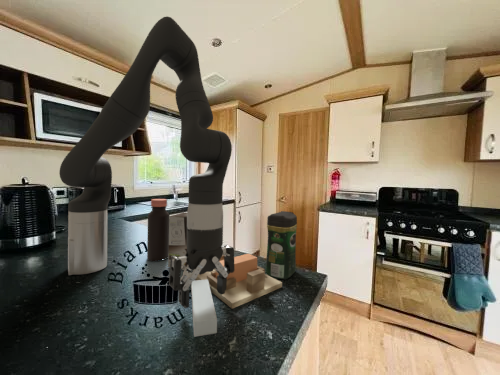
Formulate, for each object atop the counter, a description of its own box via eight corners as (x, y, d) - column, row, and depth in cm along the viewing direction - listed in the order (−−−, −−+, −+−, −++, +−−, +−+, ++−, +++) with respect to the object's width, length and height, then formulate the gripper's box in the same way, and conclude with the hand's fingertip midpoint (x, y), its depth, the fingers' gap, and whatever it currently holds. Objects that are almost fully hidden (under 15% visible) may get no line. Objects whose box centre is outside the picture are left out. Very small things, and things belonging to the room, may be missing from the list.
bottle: (169, 253, 80) (170, 198, 79) (168, 260, 73) (169, 200, 72) (148, 255, 77) (149, 198, 77) (145, 262, 71) (146, 200, 70)
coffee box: (186, 271, 66) (188, 217, 65) (167, 268, 67) (168, 215, 66) (199, 260, 75) (201, 212, 74) (182, 258, 76) (183, 211, 75)
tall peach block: (223, 286, 54) (224, 266, 54) (215, 280, 57) (215, 261, 57) (256, 275, 62) (257, 257, 61) (247, 270, 65) (248, 253, 64)
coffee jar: (274, 265, 72) (277, 208, 72) (298, 271, 68) (300, 211, 68) (260, 275, 64) (263, 212, 63) (286, 283, 60) (289, 215, 59)
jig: (232, 308, 47) (232, 284, 47) (194, 278, 61) (194, 259, 61) (281, 287, 58) (282, 266, 58) (239, 265, 72) (240, 248, 71)
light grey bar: (193, 338, 39) (194, 322, 39) (191, 292, 54) (191, 280, 54) (216, 334, 40) (217, 318, 40) (207, 290, 55) (207, 279, 55)
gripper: (223, 218, 54) (222, 283, 55) (164, 225, 45) (164, 303, 46) (242, 223, 48) (240, 295, 49) (180, 232, 39) (178, 321, 40)
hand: (203, 299), depth 47 cm, fingers open, 8 cm apart
